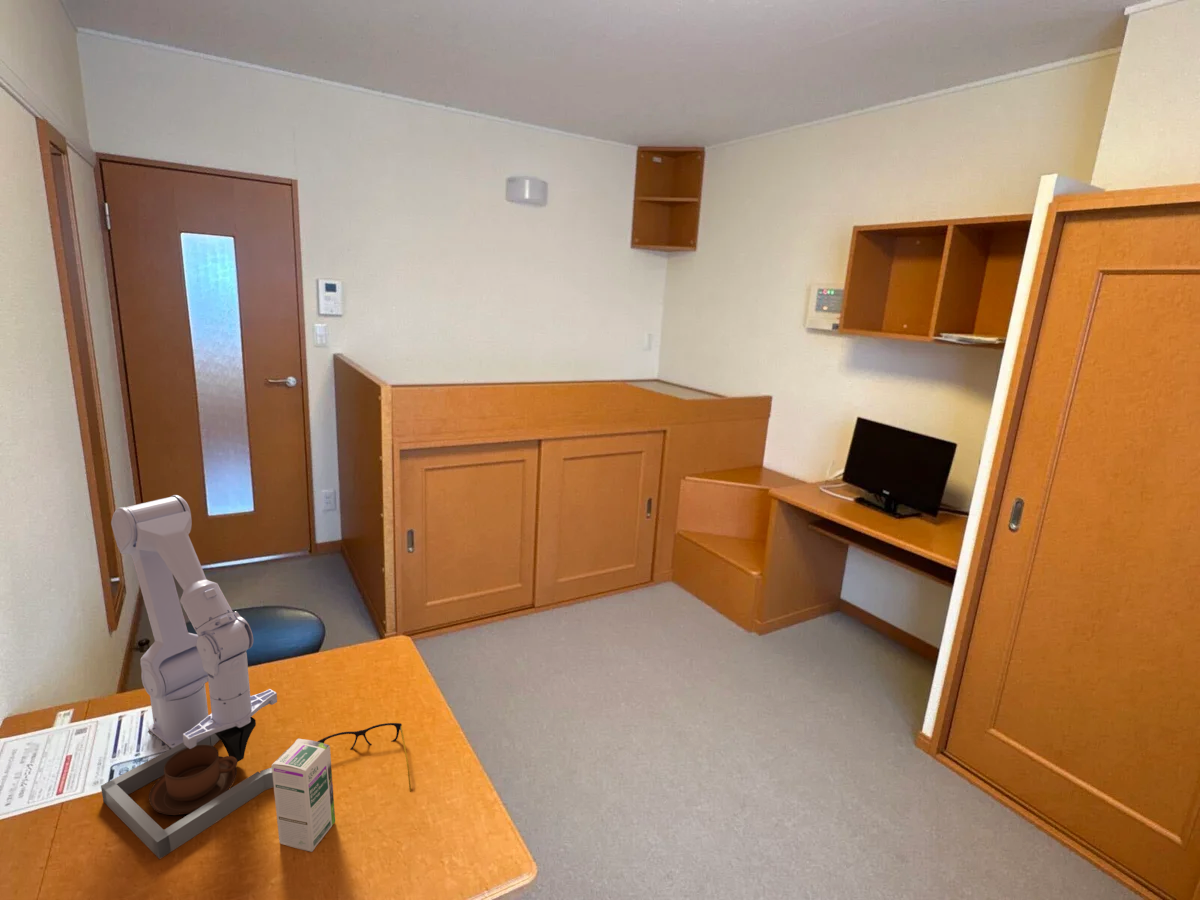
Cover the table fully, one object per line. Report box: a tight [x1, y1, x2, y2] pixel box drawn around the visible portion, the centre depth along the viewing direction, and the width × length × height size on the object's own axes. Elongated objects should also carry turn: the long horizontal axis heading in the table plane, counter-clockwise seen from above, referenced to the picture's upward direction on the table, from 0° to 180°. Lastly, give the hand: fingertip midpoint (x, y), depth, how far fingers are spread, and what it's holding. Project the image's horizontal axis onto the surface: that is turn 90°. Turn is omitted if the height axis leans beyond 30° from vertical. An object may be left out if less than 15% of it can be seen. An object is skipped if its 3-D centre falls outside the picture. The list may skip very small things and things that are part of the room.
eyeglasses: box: [317, 722, 412, 792], centre depth 107 cm, size 14×14×4 cm
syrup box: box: [271, 738, 336, 853], centre depth 93 cm, size 6×6×14 cm
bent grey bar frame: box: [100, 733, 274, 860], centre depth 101 cm, size 21×19×3 cm
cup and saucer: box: [148, 745, 238, 816], centre depth 100 cm, size 12×12×6 cm
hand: (236, 758), depth 106 cm, fingers closed
